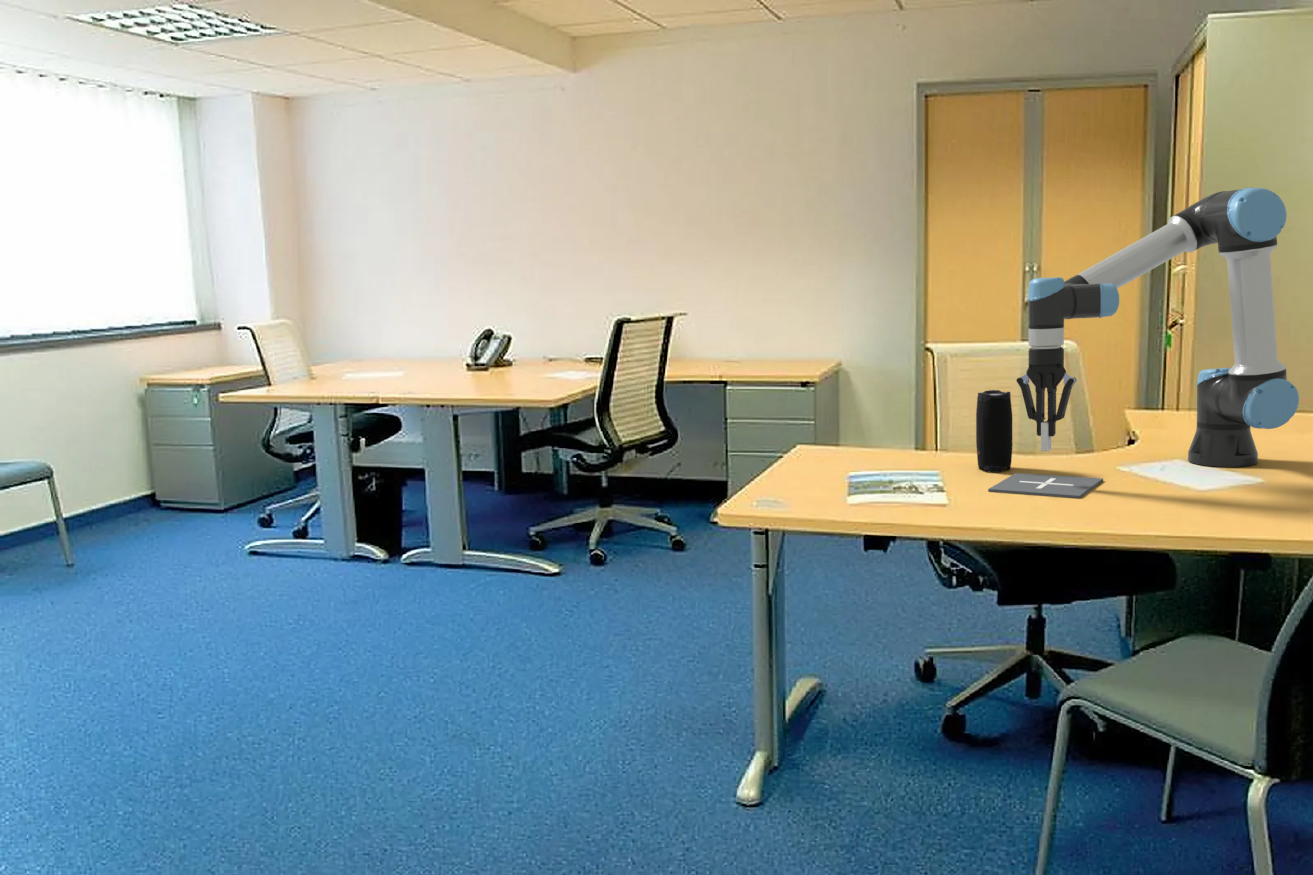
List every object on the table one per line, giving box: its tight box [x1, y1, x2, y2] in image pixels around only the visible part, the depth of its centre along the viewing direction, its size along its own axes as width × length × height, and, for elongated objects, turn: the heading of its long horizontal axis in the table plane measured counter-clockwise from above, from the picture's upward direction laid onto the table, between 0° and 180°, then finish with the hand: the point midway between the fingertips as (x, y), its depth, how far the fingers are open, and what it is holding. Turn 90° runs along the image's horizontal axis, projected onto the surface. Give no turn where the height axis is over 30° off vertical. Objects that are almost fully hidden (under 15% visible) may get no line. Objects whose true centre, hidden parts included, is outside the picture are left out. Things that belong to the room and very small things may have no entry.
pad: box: [987, 472, 1104, 499], centre depth 249 cm, size 20×20×1 cm
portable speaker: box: [975, 389, 1013, 473], centre depth 270 cm, size 9×9×20 cm
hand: (1046, 450), depth 248 cm, fingers closed
